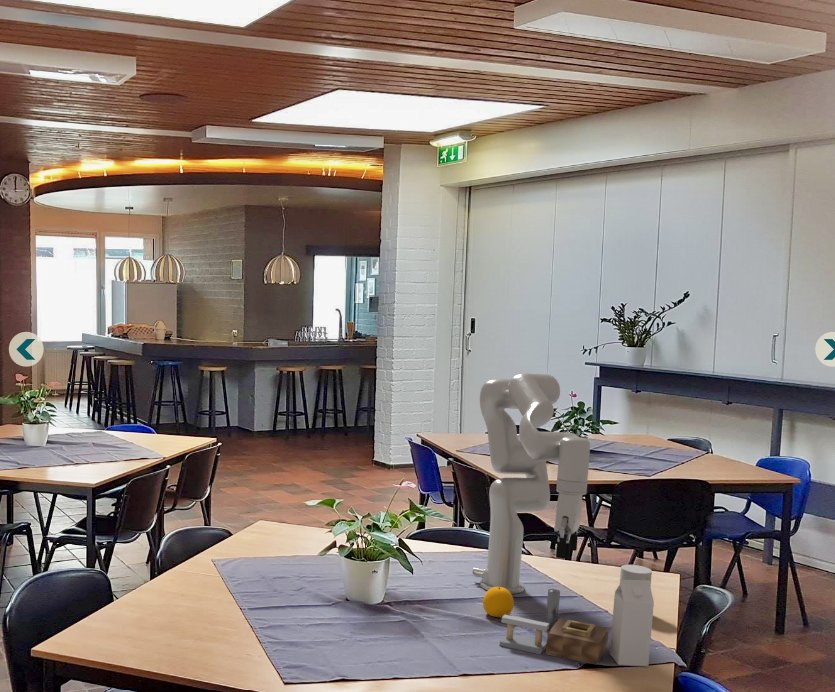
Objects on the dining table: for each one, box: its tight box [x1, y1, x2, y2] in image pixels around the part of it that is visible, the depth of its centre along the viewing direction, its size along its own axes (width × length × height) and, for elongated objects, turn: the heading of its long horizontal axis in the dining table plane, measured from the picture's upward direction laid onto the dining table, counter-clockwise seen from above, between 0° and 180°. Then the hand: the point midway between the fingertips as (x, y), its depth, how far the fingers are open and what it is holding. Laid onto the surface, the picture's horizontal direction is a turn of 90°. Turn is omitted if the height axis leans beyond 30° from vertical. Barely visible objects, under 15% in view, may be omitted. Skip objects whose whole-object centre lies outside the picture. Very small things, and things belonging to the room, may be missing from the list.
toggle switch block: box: [545, 618, 610, 666], centre depth 223 cm, size 12×12×6 cm
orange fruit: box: [482, 587, 515, 618], centre depth 245 cm, size 8×8×8 cm
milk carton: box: [609, 579, 655, 667], centre depth 220 cm, size 7×7×19 cm
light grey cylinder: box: [619, 564, 653, 587], centre depth 256 cm, size 8×8×12 cm
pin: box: [545, 588, 561, 633], centre depth 237 cm, size 3×3×10 cm
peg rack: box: [498, 614, 549, 655], centre depth 224 cm, size 11×6×6 cm, turn 68°
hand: (566, 554), depth 237 cm, fingers open, 9 cm apart
